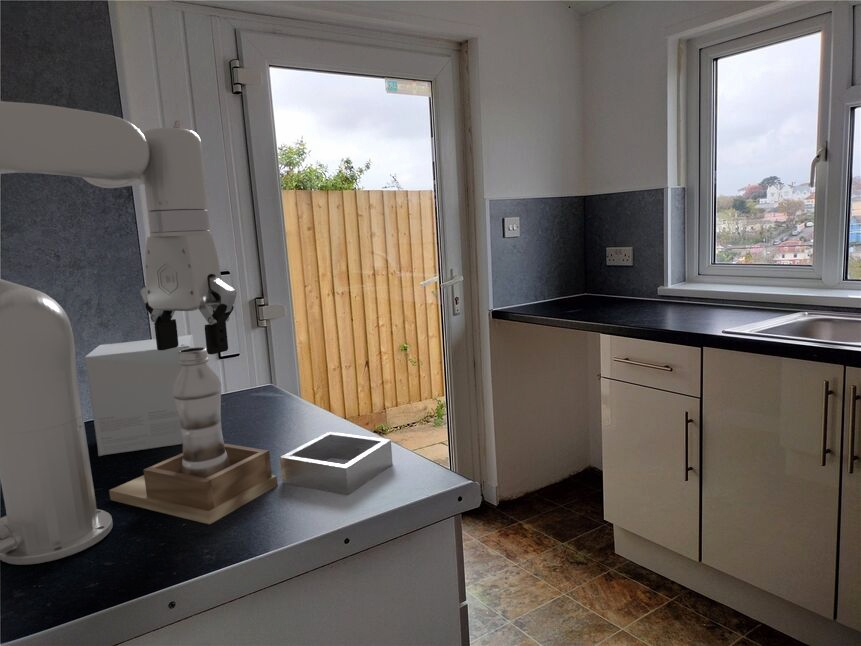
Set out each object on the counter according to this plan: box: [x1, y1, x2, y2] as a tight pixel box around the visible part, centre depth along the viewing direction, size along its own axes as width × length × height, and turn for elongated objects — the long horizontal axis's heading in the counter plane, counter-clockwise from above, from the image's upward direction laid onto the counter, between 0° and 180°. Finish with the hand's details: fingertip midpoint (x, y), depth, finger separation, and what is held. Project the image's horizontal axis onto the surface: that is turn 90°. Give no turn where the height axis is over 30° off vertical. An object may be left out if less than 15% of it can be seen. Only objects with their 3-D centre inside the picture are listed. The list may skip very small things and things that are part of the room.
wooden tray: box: [108, 442, 278, 525], centre depth 91 cm, size 13×20×6 cm, turn 62°
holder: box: [279, 431, 394, 496], centre depth 95 cm, size 12×12×4 cm
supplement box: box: [84, 334, 195, 457], centre depth 116 cm, size 17×13×18 cm
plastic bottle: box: [173, 346, 230, 478], centre depth 88 cm, size 6×7×20 cm
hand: (192, 350), depth 86 cm, fingers open, 9 cm apart
